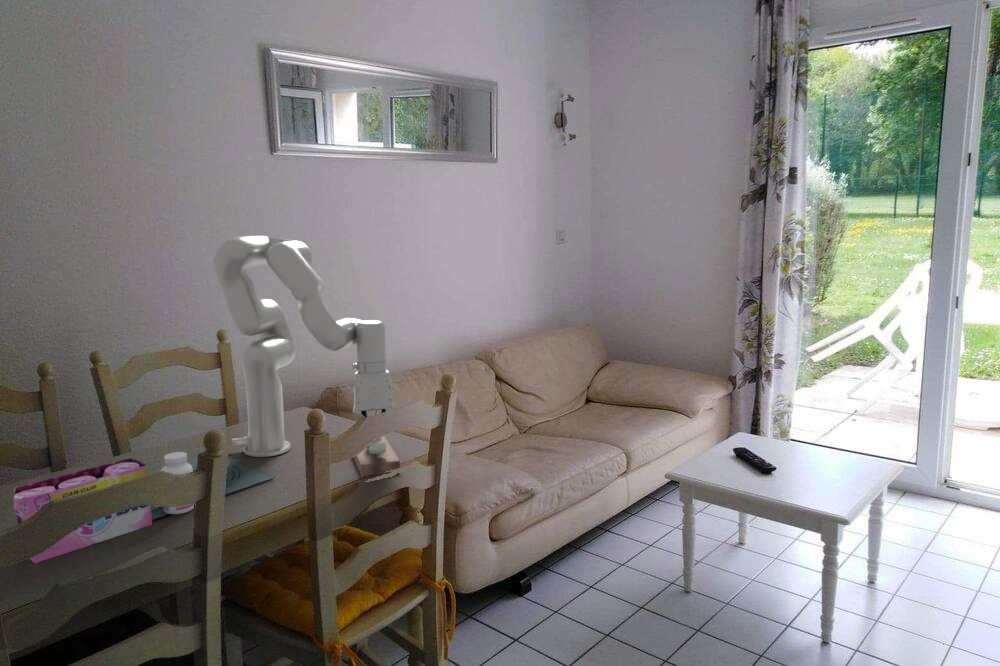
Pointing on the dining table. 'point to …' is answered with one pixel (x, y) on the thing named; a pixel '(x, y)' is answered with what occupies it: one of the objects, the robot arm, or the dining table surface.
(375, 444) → the sage green button
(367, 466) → the button panel
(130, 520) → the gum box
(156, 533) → the dining table surface
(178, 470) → the supplement bottle
